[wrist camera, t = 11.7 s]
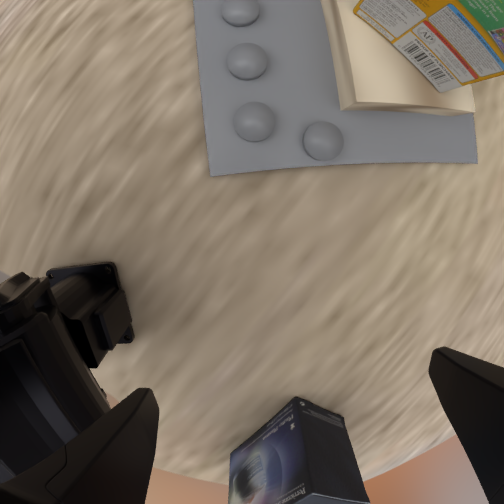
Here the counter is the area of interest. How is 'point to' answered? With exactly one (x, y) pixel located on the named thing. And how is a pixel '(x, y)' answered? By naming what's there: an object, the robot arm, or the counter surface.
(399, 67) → the base brick
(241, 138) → the baseplate
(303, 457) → the small box
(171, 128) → the counter surface
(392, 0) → the crayon box
